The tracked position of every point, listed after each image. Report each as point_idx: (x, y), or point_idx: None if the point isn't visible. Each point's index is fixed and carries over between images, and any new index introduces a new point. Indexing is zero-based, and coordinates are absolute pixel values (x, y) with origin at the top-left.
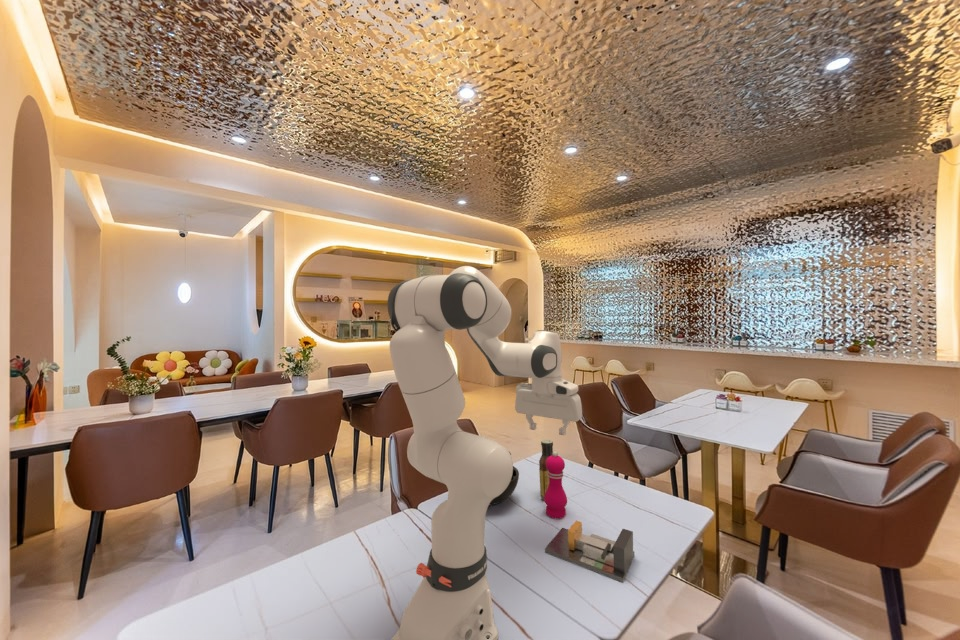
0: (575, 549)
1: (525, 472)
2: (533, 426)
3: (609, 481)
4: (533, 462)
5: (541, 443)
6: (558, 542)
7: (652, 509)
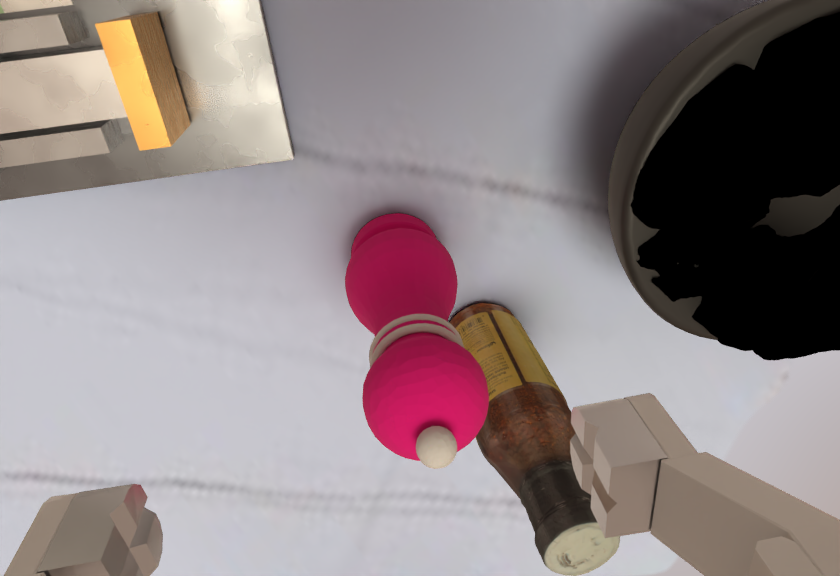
0: None
1: None
2: (602, 440)
3: (360, 561)
4: None
5: None
6: (230, 34)
7: None
